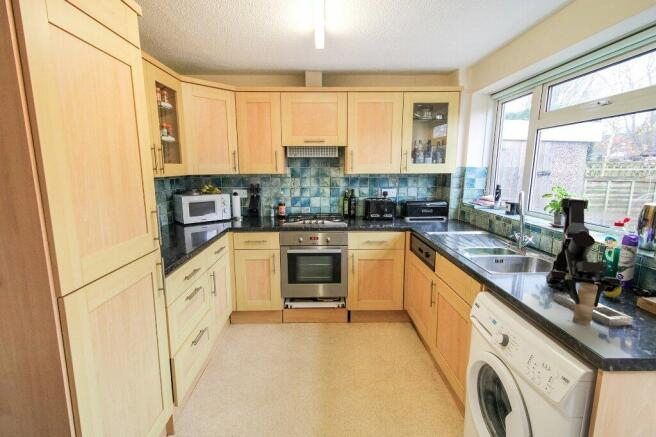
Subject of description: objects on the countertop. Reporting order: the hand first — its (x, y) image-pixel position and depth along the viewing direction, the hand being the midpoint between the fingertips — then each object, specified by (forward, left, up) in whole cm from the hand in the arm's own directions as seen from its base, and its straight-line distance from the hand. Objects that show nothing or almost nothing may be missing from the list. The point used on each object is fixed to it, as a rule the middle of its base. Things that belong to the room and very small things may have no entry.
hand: (587, 305), depth 94 cm
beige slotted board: (-7, +12, -7) cm, 15 cm away
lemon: (-16, +33, -7) cm, 37 cm away
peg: (-1, +1, -7) cm, 7 cm away
